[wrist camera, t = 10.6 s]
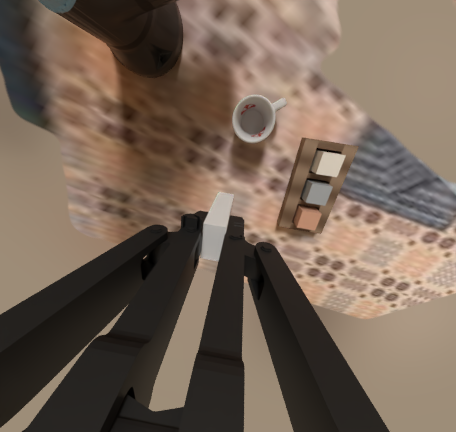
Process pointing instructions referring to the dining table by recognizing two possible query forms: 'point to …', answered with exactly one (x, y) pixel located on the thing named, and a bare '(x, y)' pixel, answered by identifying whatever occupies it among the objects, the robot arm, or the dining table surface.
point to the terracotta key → (306, 217)
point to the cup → (255, 118)
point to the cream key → (327, 163)
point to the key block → (302, 172)
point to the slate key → (316, 192)
